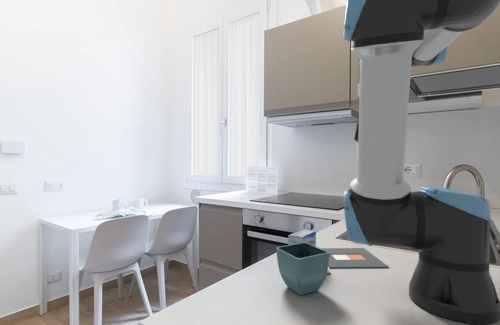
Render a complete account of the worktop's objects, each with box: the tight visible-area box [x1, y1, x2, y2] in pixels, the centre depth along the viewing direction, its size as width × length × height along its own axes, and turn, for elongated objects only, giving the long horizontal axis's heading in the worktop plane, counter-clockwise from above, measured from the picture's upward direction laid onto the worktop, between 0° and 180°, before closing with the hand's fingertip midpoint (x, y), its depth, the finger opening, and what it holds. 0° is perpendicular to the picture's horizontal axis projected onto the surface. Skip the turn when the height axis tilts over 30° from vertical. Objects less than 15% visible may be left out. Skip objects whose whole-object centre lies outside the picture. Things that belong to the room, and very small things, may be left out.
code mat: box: [319, 247, 390, 269], centre depth 85 cm, size 16×16×1 cm
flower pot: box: [275, 242, 330, 296], centre depth 64 cm, size 9×9×9 cm
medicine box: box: [287, 229, 317, 247], centre depth 78 cm, size 8×4×9 cm, turn 141°
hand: (369, 160), depth 96 cm, fingers open, 13 cm apart
